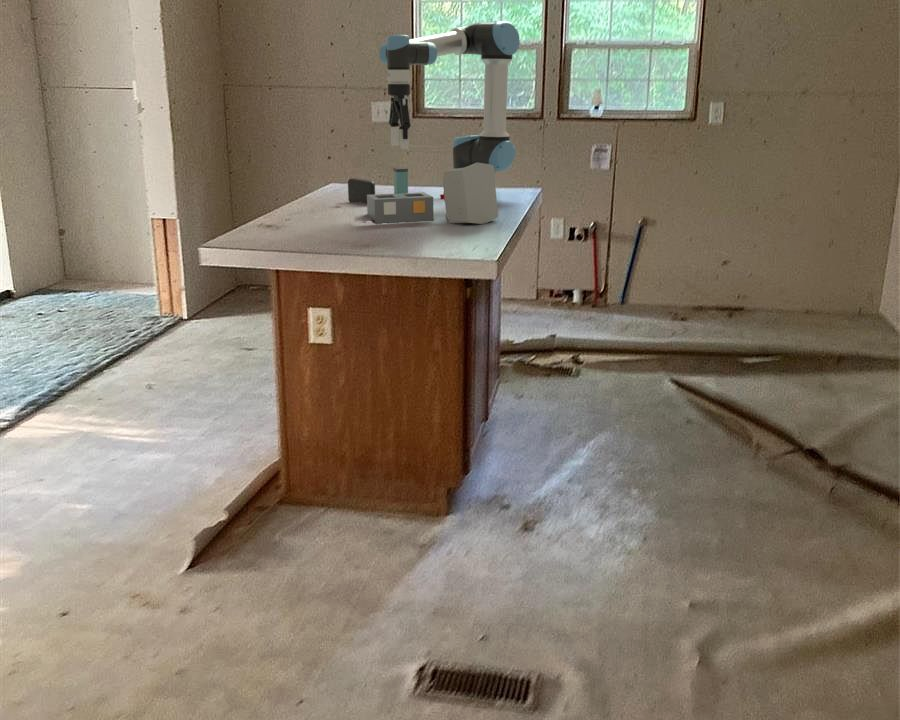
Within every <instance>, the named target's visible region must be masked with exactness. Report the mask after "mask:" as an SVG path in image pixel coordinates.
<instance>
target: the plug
mask: <svg viewBox="0 0 900 720" xmlns="http://www.w3.org/2000/svg"><path fill="white" fill-rule="evenodd" d="M392 170H393V191H394V192H393V194H395V193H409V181H408V180H409V177H408V175H409V168H407V167H393V169H392Z"/></svg>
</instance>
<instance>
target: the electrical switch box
mask: <svg viewBox="0 0 900 720" xmlns="http://www.w3.org/2000/svg"><path fill="white" fill-rule="evenodd" d="M442 186H443V188H442V190H443V194H440V195H439V198H440V200H444V208H445V214H446V216H447V219H448V222H449V224H478V225H479V224H480V225H484V224H487V223H489V222H491V221H493V220H495V219H496V220H497V219H498V217H499V209H498V208H499V207H498V200H497V197H498V196H497V190H496V189H497V186H496V178H495V172H494V166H493V165H490V164H484V163H475V164H472V165H470V166H467V167H465V168H458V169H453V168H452V169H451V168H450V169H445V170H443V176H442Z"/></svg>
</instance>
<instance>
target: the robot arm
mask: <svg viewBox="0 0 900 720" xmlns="http://www.w3.org/2000/svg"><path fill="white" fill-rule="evenodd" d="M386 40H387V41H386V42H384V43H383V44H381V46H380V47H379V51H378V56H379V59H380V62H382V63H383V64H385V65H387V72H386V73H385V75H386V76H387V82H388V84H387V94H388V96H391V97H390V109H389V118H388V119H389V120H388V124H389V125H390V145H391V147H399V146H400V150H409V149H410V144H409V142H410V137H409V136H410V135H409V134H410V133H409V129H410V128H411V120H410V113H409V104H408V103H409V102H408V101H409V99H408V98H405V96H410V94H411V84H409V83H410V82H411V69H410V66H430V65H433V64H435V62H436V60H437V58H438V57H442V56H446V55H450V54H451V55H452V54H454V55H457V56H461V55H478V56H480V60H481V62H482V63H484V90H483V91H484V92H483V94H484V97H483V129H482V131H481V132H480V133H479V134H477V135H476V134H475V135H466V136H457V137H455V138H454V139H453V143H452V145H453V146H452V161H453V165H452V166H453V168H452V169H458V168H465V167H467V166H470V165H472V164H475V163H484V164H490V165H493V166H494V173H495V172H505V171H507V170H508V169H510V167H511V166H513V163H514V161H515V158H516V147H515V145H514V143H512V141H511V140H510V138H511V137H510V136H511V135H510V133H508V132H507V109H508V108H507V107H508V105H507V102H508V76H509V74H508V73H509V64H510V63H511V62H512V61H513V55H514V54H516V52H518V49H519V48H520V34H519V32H518V29H517V28H516V26H515V25H514V24H513V23H511V22H510V21H505V20H503V21H502V20H497V21H478V22H473V23H470V24H466V25H463V26H460V27H454V28H452V29H451V30H450V31H449V32H443V33H437V34H431V35H428V36H422V37H416V38H411V39H410V36H409V35H408V34H390V35H388V36H387V39H386Z"/></svg>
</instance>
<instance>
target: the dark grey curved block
mask: <svg viewBox="0 0 900 720" xmlns="http://www.w3.org/2000/svg"><path fill="white" fill-rule="evenodd" d="M347 188H348V189H347V194H348V196H347V197H348V198H347V199H348V202H349V203H364V204H367V195H373V194H376V183H375V181H373V180H371V179H367V178H356V177H355V178H354V177H353V178H349V179H348V180H347Z"/></svg>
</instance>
